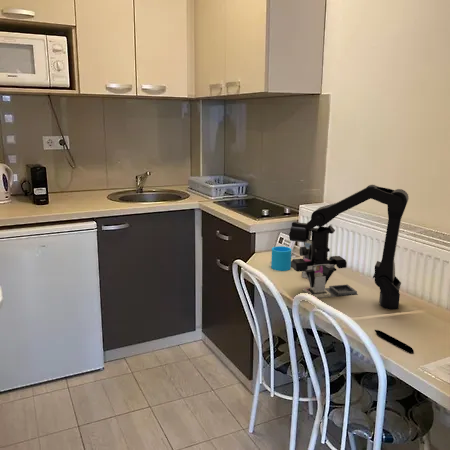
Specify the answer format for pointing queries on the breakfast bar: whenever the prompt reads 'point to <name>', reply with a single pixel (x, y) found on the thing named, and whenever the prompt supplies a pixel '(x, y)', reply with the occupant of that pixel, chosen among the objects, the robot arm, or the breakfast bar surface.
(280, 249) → the mug
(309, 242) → the candy bar box
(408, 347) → the pen
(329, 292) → the dark grey double tray
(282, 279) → the breakfast bar surface
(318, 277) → the block
